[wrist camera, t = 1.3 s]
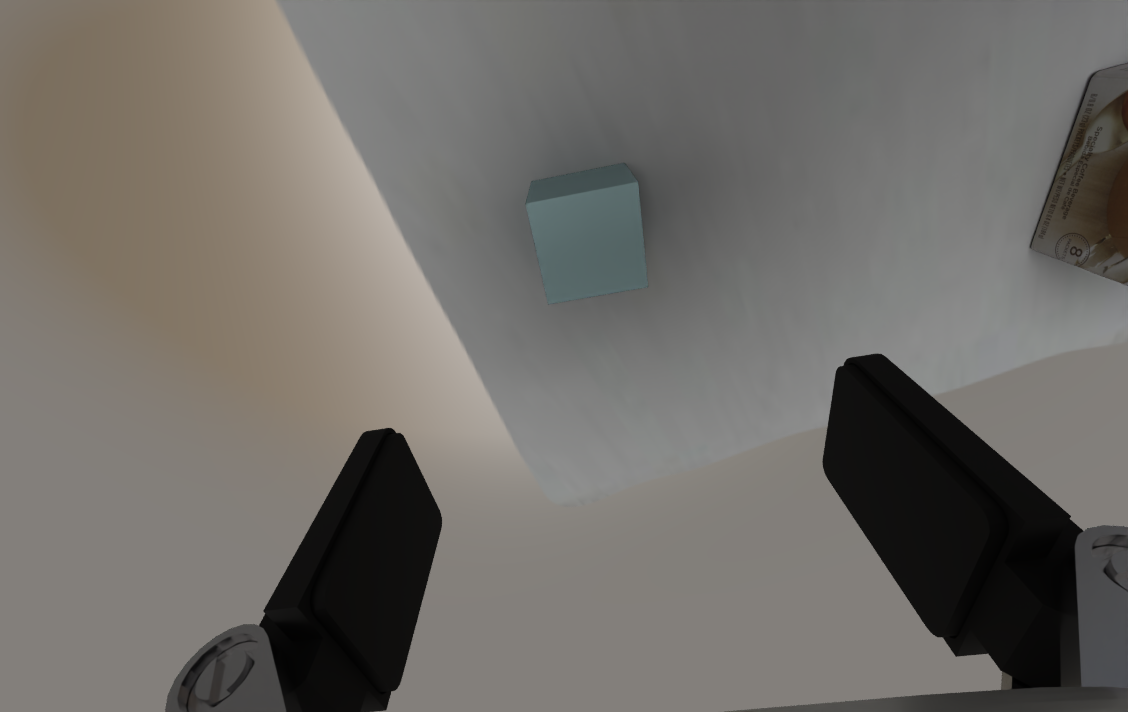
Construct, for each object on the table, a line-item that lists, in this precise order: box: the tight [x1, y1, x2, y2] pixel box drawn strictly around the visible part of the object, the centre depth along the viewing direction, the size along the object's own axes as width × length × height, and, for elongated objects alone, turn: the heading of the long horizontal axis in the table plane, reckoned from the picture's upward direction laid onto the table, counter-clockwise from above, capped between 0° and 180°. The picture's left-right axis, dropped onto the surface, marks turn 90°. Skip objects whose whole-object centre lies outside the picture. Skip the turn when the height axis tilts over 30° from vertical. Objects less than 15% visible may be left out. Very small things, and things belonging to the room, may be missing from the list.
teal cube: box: [526, 163, 648, 304], centre depth 23 cm, size 5×5×5 cm
